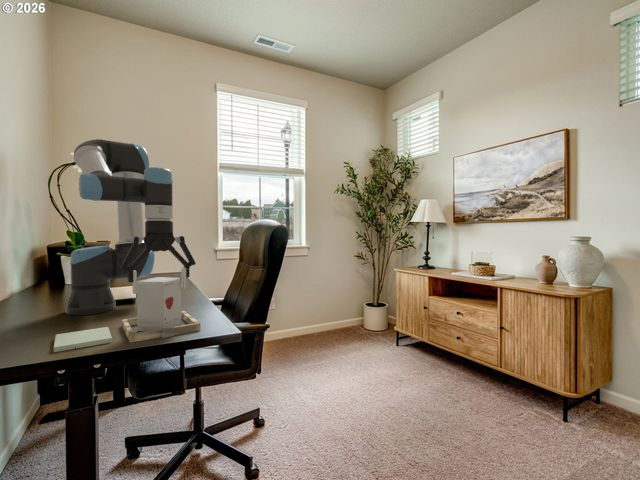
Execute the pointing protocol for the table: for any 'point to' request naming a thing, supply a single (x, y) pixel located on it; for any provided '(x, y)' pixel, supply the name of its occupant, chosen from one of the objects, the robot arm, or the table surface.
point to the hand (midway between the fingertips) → (160, 290)
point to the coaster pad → (82, 339)
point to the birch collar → (163, 332)
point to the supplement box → (158, 303)
